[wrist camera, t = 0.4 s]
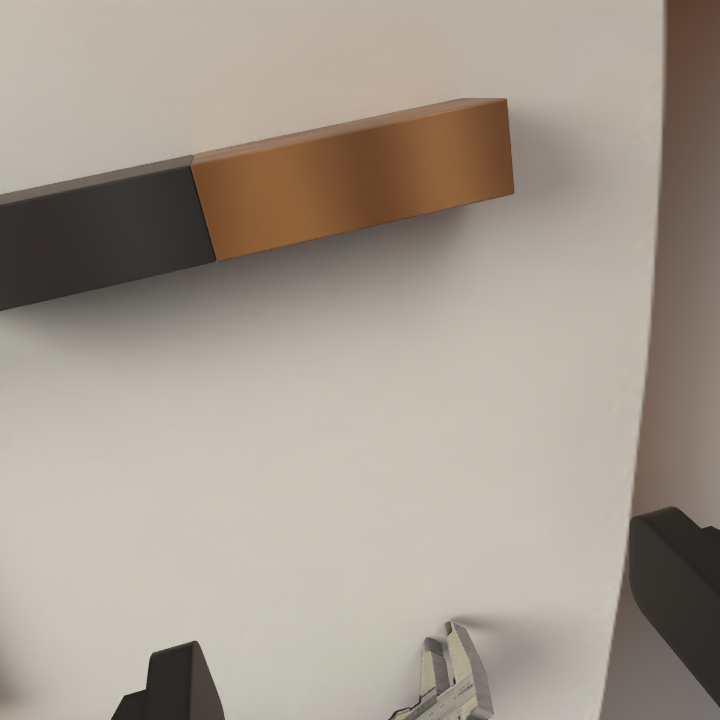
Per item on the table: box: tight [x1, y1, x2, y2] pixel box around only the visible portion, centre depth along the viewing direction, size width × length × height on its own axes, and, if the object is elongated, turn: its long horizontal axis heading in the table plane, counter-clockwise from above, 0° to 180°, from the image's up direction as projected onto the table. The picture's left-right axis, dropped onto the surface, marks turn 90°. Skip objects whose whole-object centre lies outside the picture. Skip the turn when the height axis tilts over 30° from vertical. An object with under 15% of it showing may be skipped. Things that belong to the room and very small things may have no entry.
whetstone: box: [0, 98, 514, 311], centre depth 21 cm, size 20×3×4 cm, turn 101°
